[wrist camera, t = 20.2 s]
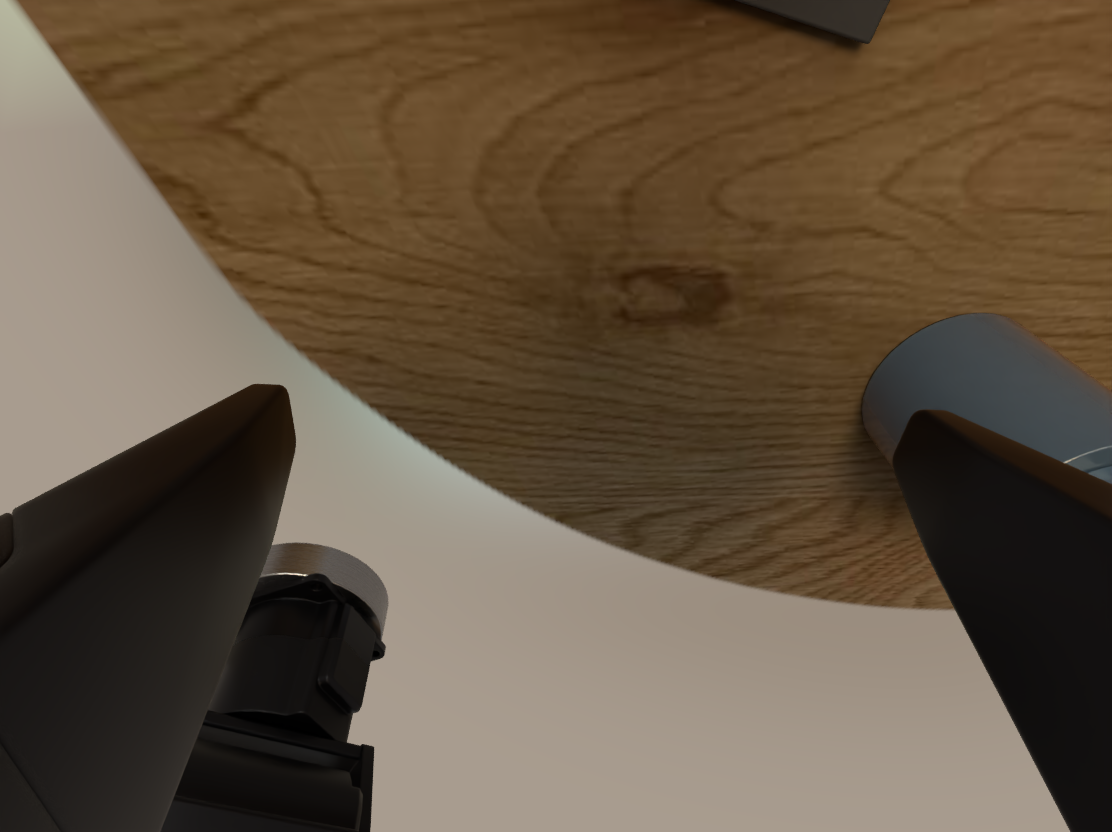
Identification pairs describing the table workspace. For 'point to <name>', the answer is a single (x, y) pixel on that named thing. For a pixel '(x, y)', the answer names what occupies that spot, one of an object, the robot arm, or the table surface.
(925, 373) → the jar
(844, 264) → the table surface
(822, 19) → the mat
